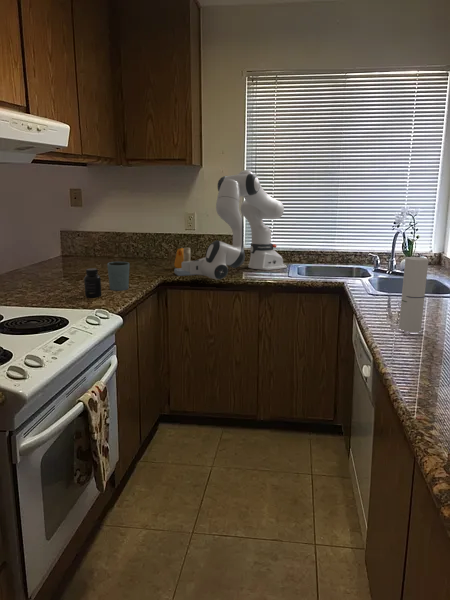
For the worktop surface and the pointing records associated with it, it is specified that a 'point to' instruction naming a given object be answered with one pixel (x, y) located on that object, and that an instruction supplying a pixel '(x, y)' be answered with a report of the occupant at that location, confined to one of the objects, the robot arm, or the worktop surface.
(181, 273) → the block
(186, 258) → the dowel
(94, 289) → the supplement bottle
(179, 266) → the bracket
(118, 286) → the blue cup
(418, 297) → the cylindrical container
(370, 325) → the worktop surface
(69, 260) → the worktop surface
